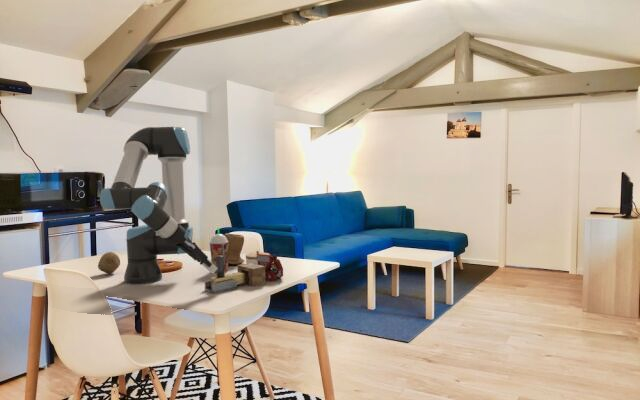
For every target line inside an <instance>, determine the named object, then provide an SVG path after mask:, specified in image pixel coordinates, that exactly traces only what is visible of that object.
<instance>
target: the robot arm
mask: <svg viewBox="0 0 640 400" xmlns="http://www.w3.org/2000/svg"><path fill="white" fill-rule="evenodd" d="M190 146H191V145H190V141H189V136H188V133H187V130H186V129H185V128H184V127H182V126H181V127H180V126H154V127H153V126H152V127H151V126H149V127H144V128H141V129H140V130H137V131H136V132H134V133H133V134H132V135H131V136H130V137H129V138H128V139H127V140H126V142H125V143H124V146H123V156H122V159H121V162H120V164H119V167H118V169H117V172H116V174H115V177H114V179H113V182H112V184H111V187H107V188H103V189H101V191H100V194H99V201H100V205H101V207H102V208H103V209H104V210H114V211H115V210H130V211H131V212H132V213H133V214H134V215H135V216H136V217H137V219H139V220H140V221H141V222H143V224H144V225H139V226H138V225H137V226H134V227H129V228H128V229H127V230H126V239H125V240H126V253H127V254H126V255H127V266H126V269H125V272H124V277H123V281H124V283H125V282H126V283H125V284H128V283H130V284H131V285H140V284H142V285H143V284H149V283H155V282H159V281H160V280H162V279H163V273H162V269H161V267H160V265H159V263H158V256H161V255H181V254H183V255H184V254H186V255H188V256H189V257H190V258H191V259H193V260H194V261H197V263H199V265H202V267H204V268H205V269H206V270H207V271H208V272H209V273H211V274H213V275H214V274H216V273H215V271H216V270H217V269H218V268H217V267H216V266H215V265H214V264H213V263H212V261H211V259H210V260H209V259H208V258H209V257H208V255H207V254H206V253H205V252H203V250H202V249H201V248H200V247H199V246H198V245H197V244H196V242H194V241H193V237H194V236H193V235H194V232H193V231H194V228H193V226H191V225H190V224H189V223H190V222H189V221H188V220H187V219H186V217H185V216H186V214H185V185H184V162H185V161H186V160H187V155H190V154H191V147H190ZM152 155H153V156H157V159H158V160H159V162H160V163H161V175H162V176H161V179H162V183H161V182H159V181H154V182H151V183H149V184H148V186H147V187H135V186H136V184H137V181H138V178H139V174H140V172H141V169H142V166H143V163H144V160H146V159H147V157H148V156H152Z"/></svg>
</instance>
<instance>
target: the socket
mask: <svg viewBox="0 0 640 400" xmlns="http://www.w3.org/2000/svg"><path fill="white" fill-rule="evenodd" d="M236 265H237V272H241V273H245V282H244V283H243V284H245V283H248V286H250V287H257V286H262V285H263V286H264V285H266V281H267V279H266V277H265V266H261V265H256V264H252V263H240V264H236Z"/></svg>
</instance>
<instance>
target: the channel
mask: <svg viewBox="0 0 640 400" xmlns="http://www.w3.org/2000/svg"><path fill="white" fill-rule="evenodd" d="M237 285H238V284H237V283H236V279H233V280H228V281H223V282H218V283H213V284H212V287H211V282H210V279H209V280H205V281H204V291H206V292H208V293H211V294H219V293H222V292H227V291H232V290H237V289H238V287H237Z"/></svg>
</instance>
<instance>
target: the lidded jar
mask: <svg viewBox="0 0 640 400" xmlns="http://www.w3.org/2000/svg"><path fill="white" fill-rule="evenodd" d="M258 254H265V255H271V254H270V253H269V252H260V251H259V250H256V252H251V253H247V254H245V262H246V263H245V264H247V263H252V264H256V265H258V261H257V255H258Z"/></svg>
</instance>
